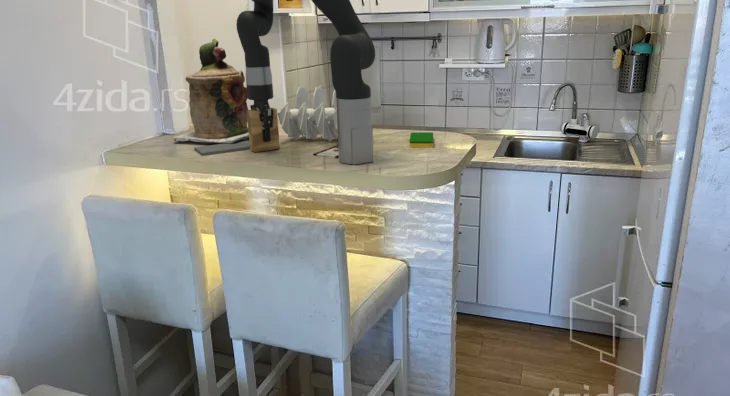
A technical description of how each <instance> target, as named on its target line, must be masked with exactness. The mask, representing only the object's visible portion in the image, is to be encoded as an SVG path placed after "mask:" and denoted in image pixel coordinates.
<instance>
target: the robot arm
mask: <svg viewBox="0 0 730 396" xmlns="http://www.w3.org/2000/svg"><path fill="white" fill-rule="evenodd" d="M251 1H252V2H253V10H244V11H243V10H242V11H241V12H240V13H239V14H238V17H237V19H236V30H237V35H238V37H239V41H240V44H241V47H242V50H243V52H244V63H245V82H246V85H245V86H246V87H247V96H248V99H247V100H249V101H253V104H250V106H249V107H250V110H256V111H258V112H259V121H260V122H261V126H262V134H263V141H264V142H270V141H271V137H270V129H271V128H272V127H273V112H274V110H273V109H270V108H271V105H270V104H269V100H273V98H274V86H273V84H274V83H273V74H272V70H271V61H270V51H269V48H268V47H267V46H266V45H262V43H261V39H260V37H264V36H267V35H268V34H269V33H270V32H271V29H272V28H273V27H272V26H273V23H274V0H251ZM311 2H312V3H313V4H314V6H316V7H317V8H318V10H319V11H320V12H321V13H322V14H323V15H324V16H325V17H326V18H327V19H328V20H329V21H330V23H331V24H332V25H333V27H334V28H335V30H336V32H337V34H338V36H337V37H336V38H335V39H334V40H333V41H332V43H331V47H330V52H329V53H330V55H329V59H330V70H331V82H332V86H333V88H334V89H333V90H335V91H336V106H337V131H338V135H337V145H338V154H339V159H338V162H340V163H341V164H346V165H347V164H349V165H360V164H367V163H373V162H374V140H373V139H374V137H373V136H374V135H373V134H374V133H373V132H374V131H373V127H372V108H371V107H372V104H371V103H372V99H371V96H372V95H371V94H372V92H371V91H372V90H371V86H369V85H368V84H367V83H365V82H364V80H363V76H362V70H363V71H364V70H366V69H368V68H371V66H372V65H373V64H374V62H375V58H376V47H375V45H374V42H373V40H372V38H371V36H370V35H369V33H368V31H367V30H366V28H365V27H364V25H363V23H362V21H361V20H360V18H359V17H358V15H357V13H356V11H355V8H354V7H353V5H352V2H351V0H311ZM260 111H261V113H260ZM261 117H264V119H262V118H261ZM267 123H268V124H267Z"/></svg>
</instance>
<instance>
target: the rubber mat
mask: <svg viewBox="0 0 730 396" xmlns="http://www.w3.org/2000/svg"><path fill="white" fill-rule="evenodd" d="M193 149H194V151H195V152H197V153H198V154H199V155H200V156H202V157H203V156H209V155H218V154H225V153H231V152H241V151H247V150H250V142H249V140H242V141H241V140H239V141H235V142H233V143H216V144H211V145H202V146H195V147H193Z"/></svg>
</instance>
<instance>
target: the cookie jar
mask: <svg viewBox="0 0 730 396" xmlns="http://www.w3.org/2000/svg"><path fill="white" fill-rule="evenodd" d="M198 49H199V50H198V53H199V60H200V64H201V68H200V69H199V70H198V71H196V72H194V74H189V75H186V76H185V78H184V79H185V81H186V82H187V83H188V86H189V87H188V89H189V96H188V97H189V102H188V105H189V114H190V115H189V116H190V120H191V124H192V125H193V128H194V131H191V132H185V133H182V134H180V135H179V134H178V135H175V136H172V139H173V140H174V142H177V141H179V142H188V141H189V142H190V141H191V142H193V143H194V142H195V143H215V144H224V143H233V142H238V141H241V140H242V139H244V138H246V137H249V131H248V121H247V110H249V108H248V103H247V100H249V99H248V96H247V86H245V82H246V77H245V75H244V72H243V70H236V69H235V68H234V66H232V65H230V64H228V63H227V62H225V61H224V60H225V59H226V57H227V54H226V50H225V49H224V48H223V47H219V41H218V40H217V39H216V38H212V40H211V42H207V43H204V44H202V45H201V46H200V47H199V48H198Z"/></svg>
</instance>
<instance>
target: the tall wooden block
mask: <svg viewBox="0 0 730 396" xmlns="http://www.w3.org/2000/svg"><path fill="white" fill-rule="evenodd" d="M270 109H273V110H274V112H273V127H272V128H271V129H270V137H271V141H270V142H264V141H263V134H262V126H261V122H260V121H259V112H258V111H256V110H251V109H248V110H247V127H248V131H249V136H248V139H249V142H250V149H249V150H250V151H252V152H254V153H258V152H266V151H272V150H279V149H280V148H281V145H280V135H279V134H280V132H279V117H278V109H277V108H275V107H270ZM260 113H261V111H260ZM261 118H262V119H264V117H261ZM267 124H268V123H267Z"/></svg>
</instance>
